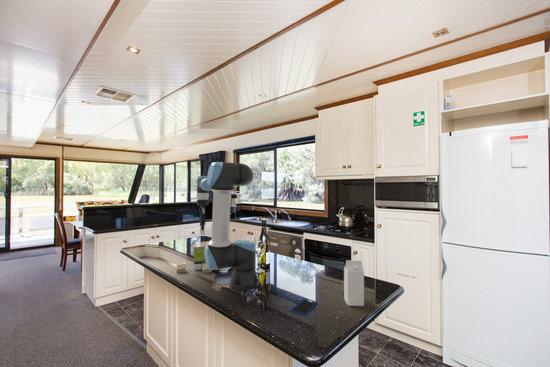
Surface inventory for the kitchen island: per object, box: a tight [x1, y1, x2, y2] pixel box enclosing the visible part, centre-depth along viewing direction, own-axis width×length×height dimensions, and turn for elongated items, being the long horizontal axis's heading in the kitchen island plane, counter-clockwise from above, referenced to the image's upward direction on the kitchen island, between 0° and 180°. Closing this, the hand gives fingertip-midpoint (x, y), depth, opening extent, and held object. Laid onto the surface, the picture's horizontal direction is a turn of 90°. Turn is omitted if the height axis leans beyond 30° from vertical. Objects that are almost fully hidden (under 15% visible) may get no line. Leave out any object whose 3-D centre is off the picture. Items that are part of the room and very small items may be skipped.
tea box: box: [193, 240, 210, 271], centre depth 169 cm, size 15×10×15 cm
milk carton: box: [343, 260, 365, 307], centre depth 117 cm, size 7×7×19 cm
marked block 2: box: [201, 262, 213, 274], centre depth 159 cm, size 5×5×5 cm
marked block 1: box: [176, 261, 186, 274], centre depth 159 cm, size 5×5×5 cm
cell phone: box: [290, 298, 319, 316], centre depth 112 cm, size 7×14×1 cm, turn 148°
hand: (202, 235), depth 169 cm, fingers closed
